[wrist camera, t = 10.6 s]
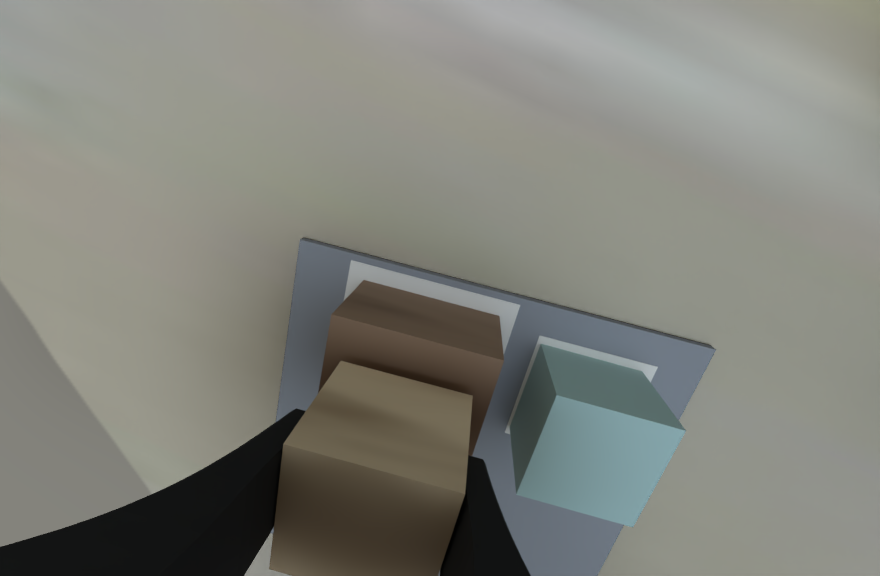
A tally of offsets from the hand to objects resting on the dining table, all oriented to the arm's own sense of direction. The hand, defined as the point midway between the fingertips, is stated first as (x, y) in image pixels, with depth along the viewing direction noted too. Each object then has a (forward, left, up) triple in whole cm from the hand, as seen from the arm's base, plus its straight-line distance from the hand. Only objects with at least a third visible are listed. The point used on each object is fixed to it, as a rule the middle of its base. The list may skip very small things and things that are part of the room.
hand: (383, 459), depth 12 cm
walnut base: (0, 0, -6) cm, 6 cm away
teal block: (0, -7, -6) cm, 10 cm away
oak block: (-1, 0, -2) cm, 2 cm away
